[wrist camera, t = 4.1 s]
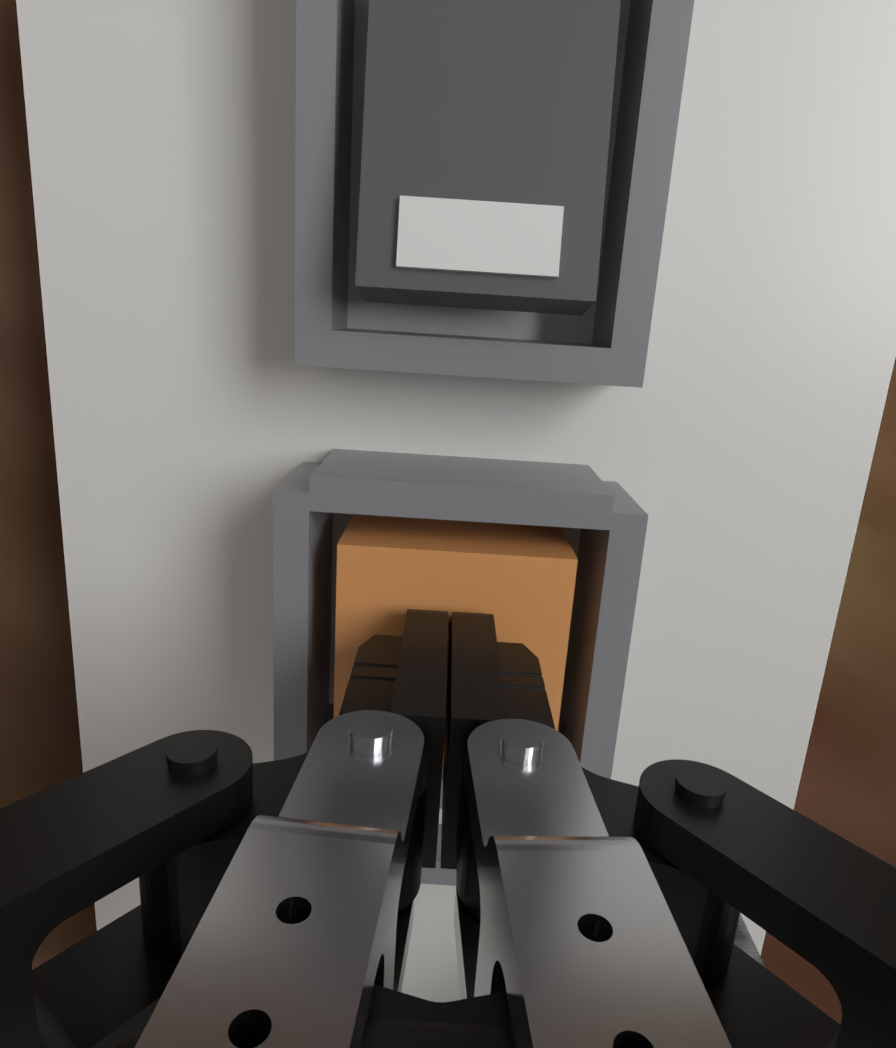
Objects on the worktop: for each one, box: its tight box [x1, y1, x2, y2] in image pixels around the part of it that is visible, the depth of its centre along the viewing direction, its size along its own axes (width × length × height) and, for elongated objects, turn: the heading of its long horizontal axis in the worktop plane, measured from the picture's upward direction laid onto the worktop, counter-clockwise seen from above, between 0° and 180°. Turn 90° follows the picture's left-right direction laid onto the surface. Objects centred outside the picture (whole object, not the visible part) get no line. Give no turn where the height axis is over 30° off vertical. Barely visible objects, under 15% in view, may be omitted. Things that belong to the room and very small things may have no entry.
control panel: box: [16, 0, 896, 1002], centre depth 16 cm, size 16×25×6 cm, turn 176°
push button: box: [333, 514, 578, 755], centre depth 14 cm, size 4×4×2 cm
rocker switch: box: [355, 0, 621, 316], centre depth 11 cm, size 4×5×1 cm
